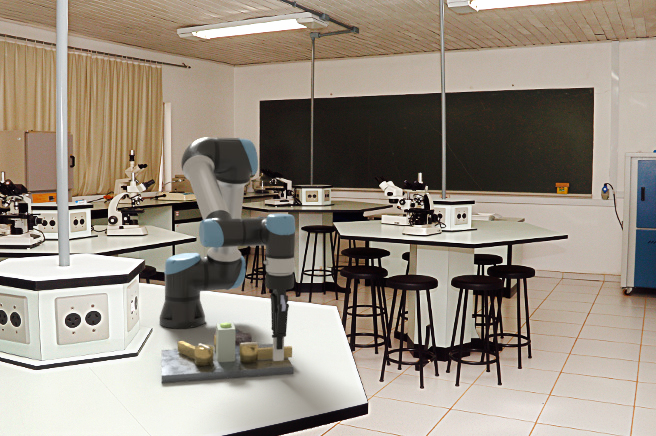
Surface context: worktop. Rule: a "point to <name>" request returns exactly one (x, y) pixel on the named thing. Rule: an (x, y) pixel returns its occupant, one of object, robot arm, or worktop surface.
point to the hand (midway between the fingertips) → (278, 359)
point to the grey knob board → (218, 367)
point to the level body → (225, 342)
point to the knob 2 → (259, 352)
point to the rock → (241, 337)
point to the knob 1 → (197, 352)
